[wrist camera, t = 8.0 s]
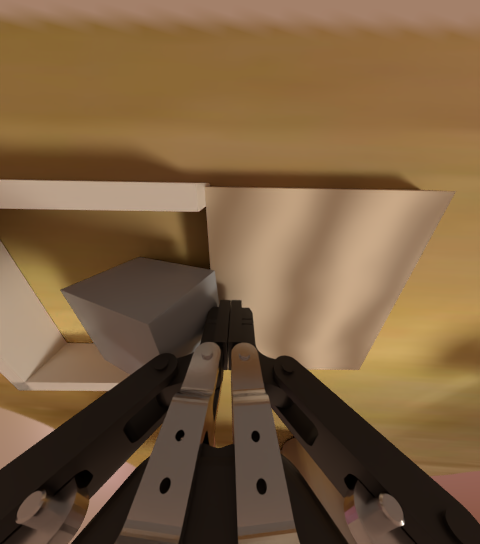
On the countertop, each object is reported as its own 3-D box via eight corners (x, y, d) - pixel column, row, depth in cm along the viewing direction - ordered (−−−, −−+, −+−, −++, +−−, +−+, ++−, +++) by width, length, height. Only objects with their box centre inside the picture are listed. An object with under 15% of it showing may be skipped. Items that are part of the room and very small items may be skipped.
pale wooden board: (422, 190, 11) (455, 191, 10) (347, 352, 19) (359, 369, 17) (210, 186, 11) (204, 187, 9) (219, 350, 19) (217, 368, 17)
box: (209, 182, 11) (195, 183, 8) (219, 352, 19) (215, 391, 15) (-60, 178, 11) (-202, 176, 7) (60, 350, 19) (18, 390, 15)
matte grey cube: (214, 270, 11) (147, 324, 7) (223, 337, 14) (179, 403, 10) (139, 256, 14) (60, 289, 10) (159, 315, 16) (104, 359, 12)
